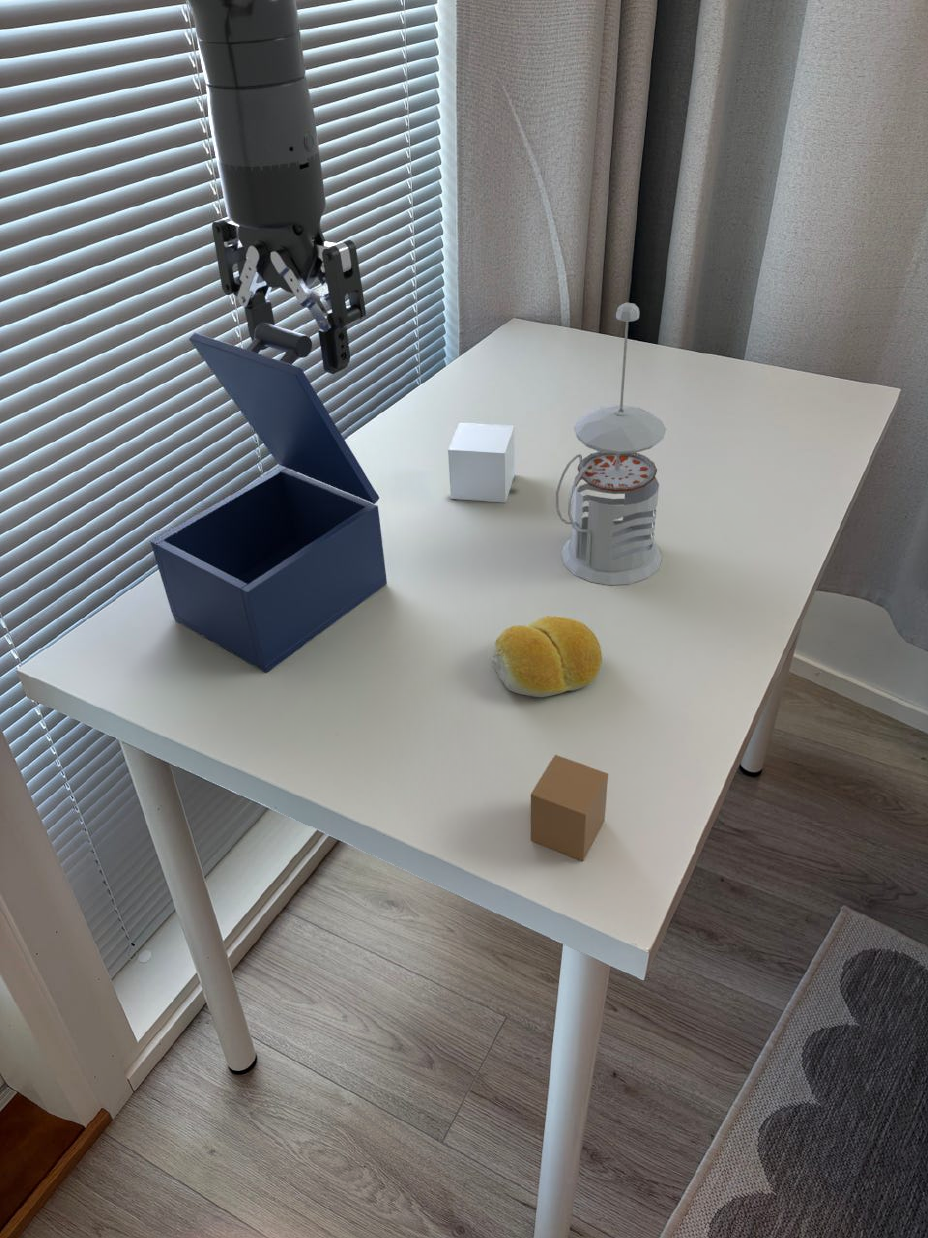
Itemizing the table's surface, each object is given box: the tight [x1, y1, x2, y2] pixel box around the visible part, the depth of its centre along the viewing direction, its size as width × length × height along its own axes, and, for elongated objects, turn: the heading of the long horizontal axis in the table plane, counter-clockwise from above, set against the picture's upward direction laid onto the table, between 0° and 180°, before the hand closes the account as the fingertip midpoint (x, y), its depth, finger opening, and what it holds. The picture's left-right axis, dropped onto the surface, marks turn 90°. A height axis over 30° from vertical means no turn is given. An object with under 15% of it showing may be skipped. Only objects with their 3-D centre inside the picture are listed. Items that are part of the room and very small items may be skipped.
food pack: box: [530, 754, 609, 862], centre depth 66 cm, size 4×4×5 cm
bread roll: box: [491, 615, 603, 698], centre depth 79 cm, size 8×9×4 cm
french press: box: [555, 302, 667, 586], centre depth 85 cm, size 10×12×25 cm
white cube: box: [447, 422, 516, 504], centre depth 102 cm, size 6×6×6 cm
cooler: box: [150, 465, 388, 674], centre depth 87 cm, size 16×13×9 cm
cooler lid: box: [188, 323, 380, 505], centre depth 82 cm, size 16×13×5 cm
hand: (300, 358), depth 80 cm, fingers open, 8 cm apart
